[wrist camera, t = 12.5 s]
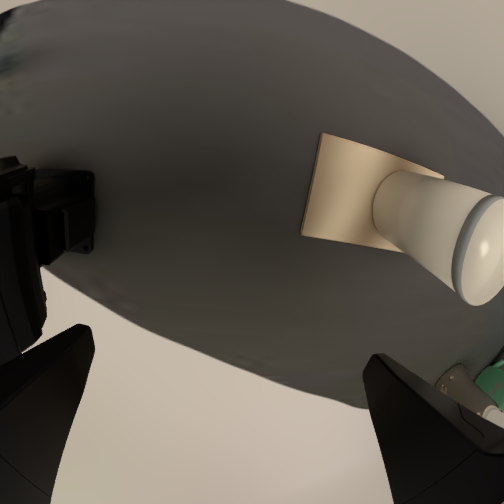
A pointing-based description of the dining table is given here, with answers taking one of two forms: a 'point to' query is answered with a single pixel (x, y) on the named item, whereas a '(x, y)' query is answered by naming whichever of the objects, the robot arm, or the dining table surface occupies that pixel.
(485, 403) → the beer glass
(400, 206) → the white lidded jar
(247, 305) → the dining table surface
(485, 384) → the mug
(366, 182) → the mat
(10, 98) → the dining table surface
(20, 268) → the robot arm
